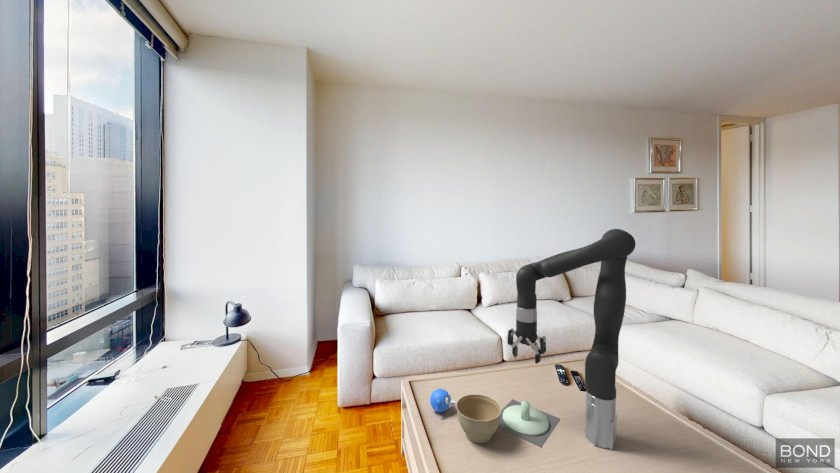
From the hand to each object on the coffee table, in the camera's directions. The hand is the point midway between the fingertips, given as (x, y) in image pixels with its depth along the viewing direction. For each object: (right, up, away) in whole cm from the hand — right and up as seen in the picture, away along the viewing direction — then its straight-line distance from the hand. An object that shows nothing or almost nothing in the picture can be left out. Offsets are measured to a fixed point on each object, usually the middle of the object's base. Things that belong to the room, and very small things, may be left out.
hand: (526, 359), depth 121 cm
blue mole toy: (-31, -25, +9) cm, 41 cm away
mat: (0, -25, +2) cm, 25 cm away
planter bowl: (-19, -26, -5) cm, 33 cm away
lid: (0, -25, +2) cm, 25 cm away
